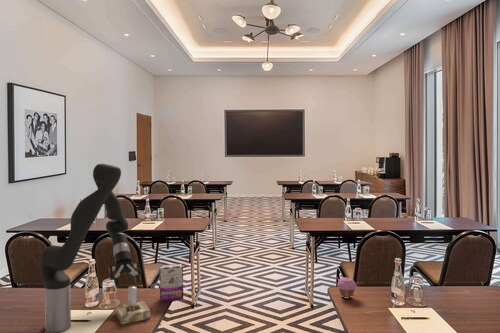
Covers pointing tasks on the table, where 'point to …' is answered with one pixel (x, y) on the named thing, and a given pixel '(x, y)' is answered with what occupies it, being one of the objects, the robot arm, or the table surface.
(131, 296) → the pin
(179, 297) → the candy bar box
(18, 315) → the table surface
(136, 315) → the socket block
